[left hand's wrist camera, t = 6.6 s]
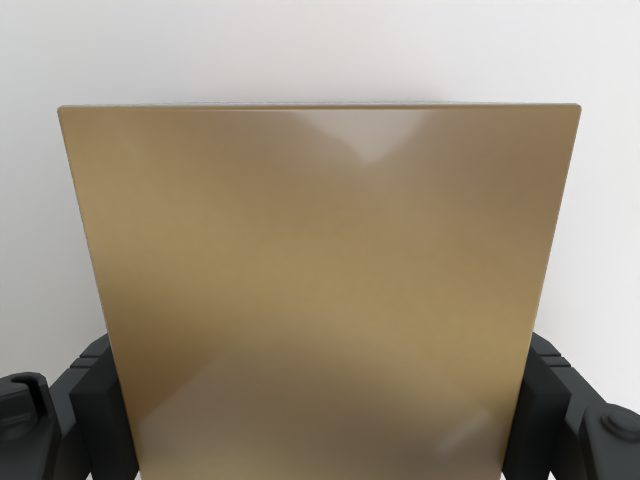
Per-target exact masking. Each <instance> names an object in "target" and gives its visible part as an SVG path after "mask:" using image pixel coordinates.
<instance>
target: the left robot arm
mask: <svg viewBox="0 0 640 480" xmlns="http://www.w3.org/2000/svg"><path fill="white" fill-rule="evenodd" d="M138 471H139V467H138V462H137V458H136V454H135V449H134V445H133V441H132V436H131V432H130V427H129V423H128V419H127V414H126V410H125V406H124V401H123V397H122V392H121V388H120V384H119V379H118V375H117V371H116V366H115V362H114V357H113V353H112V349H111V344H110V340H109V336H108V333H107V334H105V335H104V336H102V337H101V338H99V339H97V340H96V341H94V342H93V343H91V344H90V345H89V346H88V347H87V348H86V349H85V351H84V352H83V353H82V354H81V355H80V358H77V359H76V360H75V361H74V362H73V363H72V364H71V365H70V368H69V369H67V370H66V371H65V372H64V373H63V374H62V375H61V376H60V377H59V378H58V379H57V380H56V381H55V382H54V384H53V385H52V386H51V387H50V388H48V384H47V381H46V378H45V377H44V376H43V375H41V374H40V373H34V372H24V373H17V374H12V375H9V376H6V377H3V378H0V480H86V478H87V477H88V475H89V473H90V472H91V475H92V479H93V480H134V479H135V477H136V475H137V473H138ZM550 471H551V472H552V474H553V476H554V477H555V479H556V480H640V415H638V414H637V413H635V412H633V411H631V410H629V409H626V408H624V407H621V406H618V405H615V404H609V403H607V402H606V401H605V400H604V399H603V398H602V397H601V396H600V395H599V394H598V393H597V392H596V391H595V390H594V389H593V388H592V387H591V385H590V384H589V383H588V382H587V381H586V380H585V379H584V378H583V377H582V376H581V375H580V374H579V373H578V372H577V371H576V370H575V369H574V367H571V364H570V363H569V362H568V361H567V360H566V359H565V358H564V357H561V354H560V353H559V352H558V351H557V349H556V348H555V347H554V346H553V345H552V344H551V343H550V342H549V341H547V340H545V339H544V338H542V337H541V336H539V335H537V334H536V333H534V332H533V333H532V337H531V342H530V346H529V351H528V355H527V360H526V364H525V369H524V373H523V378H522V383H521V387H520V392H519V396H518V401H517V405H516V410H515V414H514V419H513V423H512V428H511V432H510V437H509V442H508V446H507V451H506V455H505V460H504V464H503V469H502V472H503V474H504V476H505V478H506V480H548V476H549V473H550Z"/></svg>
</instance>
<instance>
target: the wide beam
mask: <svg viewBox="0 0 640 480" xmlns="http://www.w3.org/2000/svg"><path fill="white" fill-rule="evenodd" d="M57 113H58V117H59V121H60V126H61V130H62V135H63V139H64V143H65V148H66V152H67V156H68V161H69V165H70V170H71V174H72V178H73V183H74V187H75V191H76V196H77V200H78V204H79V209H80V213H81V218H82V222H83V226H84V231H85V235H86V239H87V244H88V248H89V253H90V257H91V261H92V266H93V270H94V274H95V279H96V283H97V288H98V292H99V296H100V301H101V305H102V309H103V314H104V318H105V323H106V327H107V331H108V336H109V340H110V344H111V349H112V353H113V357H114V362H115V366H116V371H117V375H118V379H119V384H120V388H121V392H122V397H123V401H124V406H125V410H126V414H127V419H128V423H129V427H130V432H131V436H132V441H133V445H134V449H135V454H136V458H137V462H138V467H139V471H140V476H141V480H500V478H501V473H502V469H503V464H504V460H505V455H506V451H507V446H508V442H509V437H510V432H511V428H512V423H513V419H514V414H515V410H516V405H517V401H518V396H519V392H520V387H521V383H522V378H523V373H524V369H525V364H526V360H527V355H528V351H529V346H530V342H531V337H532V333H533V328H534V323H535V319H536V314H537V310H538V305H539V301H540V296H541V292H542V287H543V283H544V278H545V274H546V269H547V264H548V260H549V255H550V251H551V246H552V242H553V237H554V233H555V228H556V224H557V219H558V215H559V210H560V205H561V201H562V196H563V192H564V187H565V183H566V178H567V174H568V169H569V165H570V160H571V156H572V151H573V146H574V142H575V137H576V133H577V128H578V124H579V119H580V115H581V106H580V105H578V104H576V103H501V102H282V103H160V104H112V105H63V106H61V107H59V108H58V111H57Z"/></svg>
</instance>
